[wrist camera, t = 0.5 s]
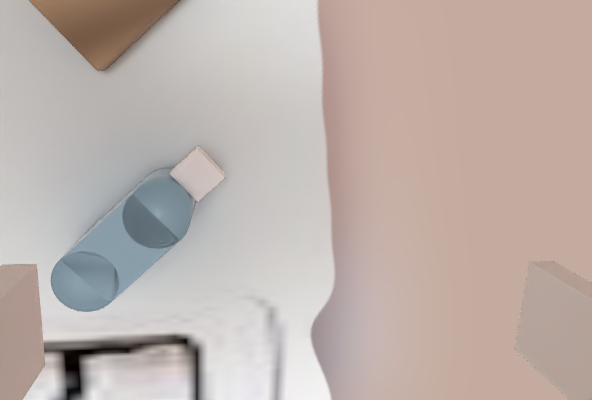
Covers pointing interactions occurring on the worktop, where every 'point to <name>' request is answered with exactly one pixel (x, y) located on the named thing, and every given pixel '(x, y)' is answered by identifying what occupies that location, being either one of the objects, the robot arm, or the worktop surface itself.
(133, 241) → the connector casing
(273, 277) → the worktop surface
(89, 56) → the walnut board
